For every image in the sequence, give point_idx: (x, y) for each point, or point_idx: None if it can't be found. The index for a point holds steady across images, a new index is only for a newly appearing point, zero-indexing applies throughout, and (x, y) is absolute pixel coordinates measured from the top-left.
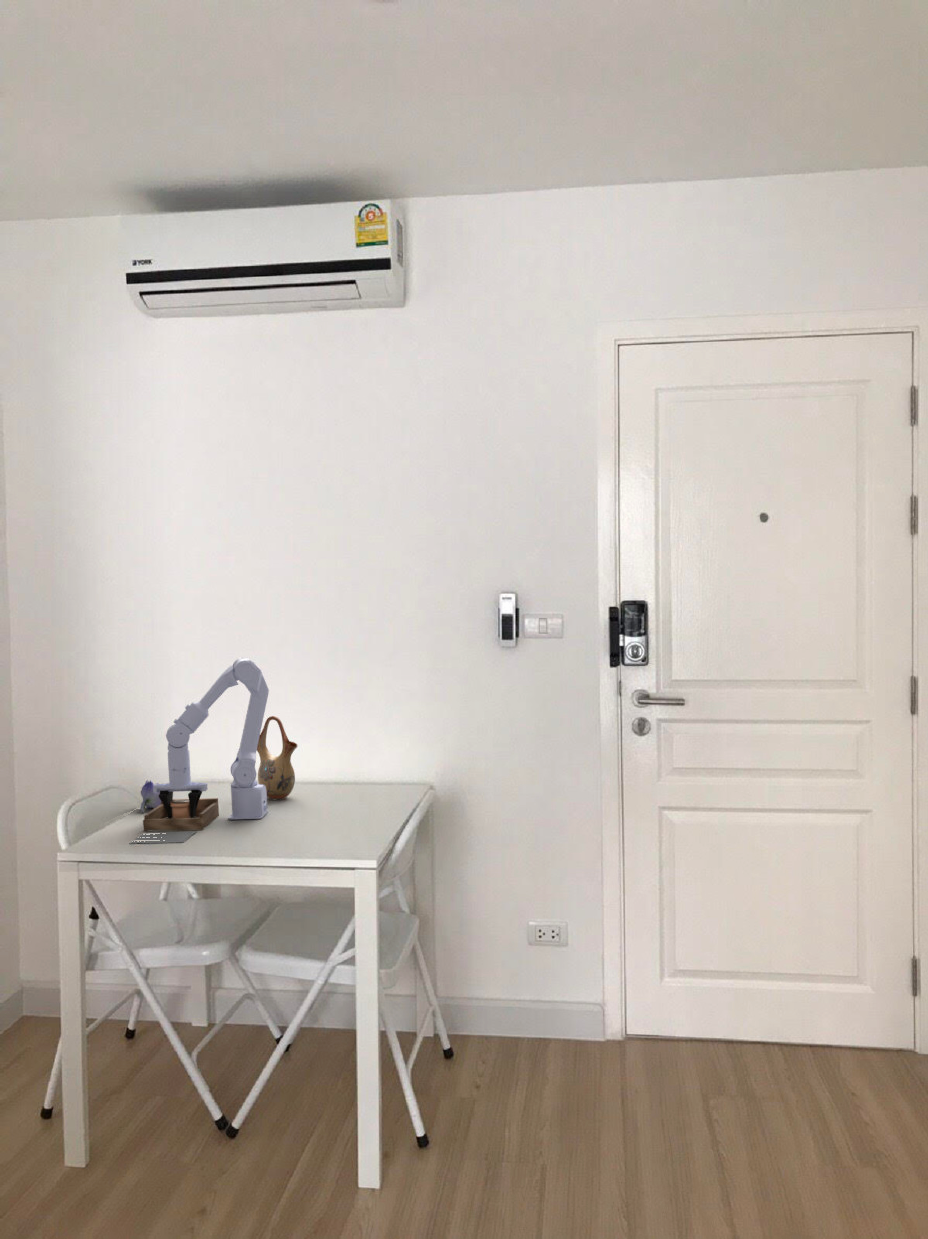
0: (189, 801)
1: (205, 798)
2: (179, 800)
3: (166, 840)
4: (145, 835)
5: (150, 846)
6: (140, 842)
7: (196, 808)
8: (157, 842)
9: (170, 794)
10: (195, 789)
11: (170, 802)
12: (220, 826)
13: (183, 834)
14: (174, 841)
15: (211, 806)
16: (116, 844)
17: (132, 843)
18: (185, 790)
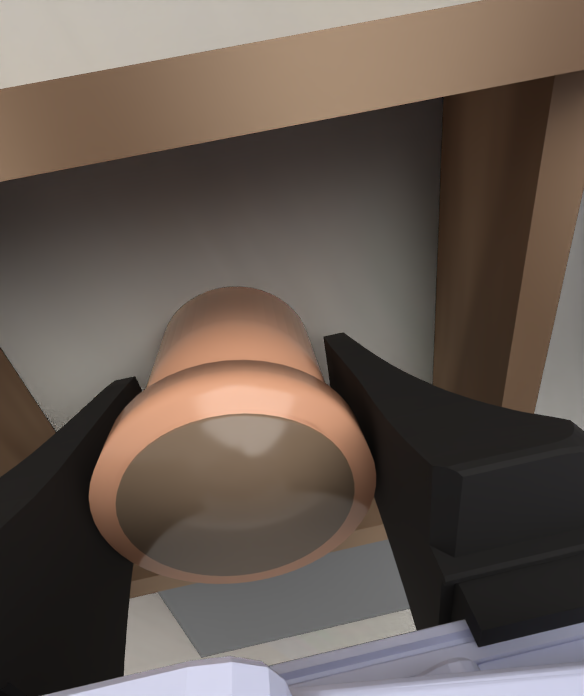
0: (391, 547)
1: (439, 13)
2: (184, 481)
3: (343, 609)
4: (189, 590)
5: (309, 646)
6: (243, 644)
7: (378, 360)
8: (318, 629)
9: (46, 640)
10: (552, 657)
11: (120, 550)
12: (546, 382)
13: (383, 545)
14: (385, 608)
15: (549, 309)
16: (145, 665)
17: (214, 653)
18: (349, 679)
